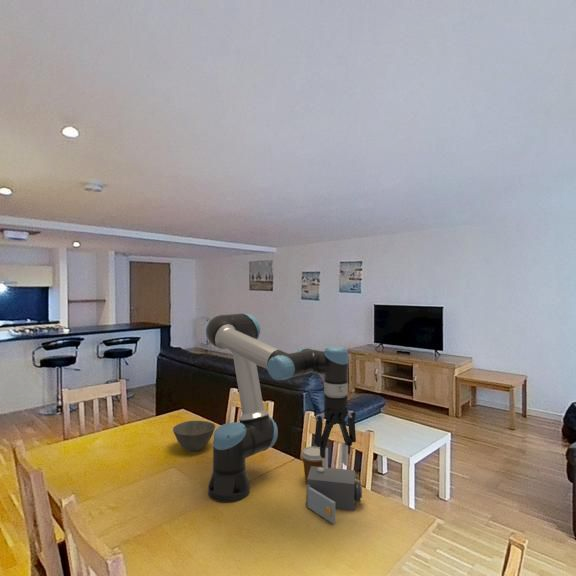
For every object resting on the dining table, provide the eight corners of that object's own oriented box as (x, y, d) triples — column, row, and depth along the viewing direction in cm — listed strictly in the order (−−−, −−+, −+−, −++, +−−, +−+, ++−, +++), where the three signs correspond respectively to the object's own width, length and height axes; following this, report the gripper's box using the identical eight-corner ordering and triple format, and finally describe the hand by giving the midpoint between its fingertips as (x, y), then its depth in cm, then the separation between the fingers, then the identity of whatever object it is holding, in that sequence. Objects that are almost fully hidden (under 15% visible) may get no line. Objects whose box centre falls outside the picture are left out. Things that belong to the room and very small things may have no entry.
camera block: (306, 505, 136) (307, 476, 136) (310, 490, 146) (311, 463, 146) (361, 511, 133) (362, 481, 133) (361, 496, 143) (362, 468, 143)
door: (304, 506, 135) (304, 485, 135) (308, 505, 136) (308, 484, 136) (331, 525, 125) (331, 502, 125) (335, 523, 126) (335, 500, 126)
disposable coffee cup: (324, 489, 147) (325, 457, 147) (299, 487, 149) (299, 455, 148) (327, 477, 156) (327, 447, 156) (303, 475, 158) (303, 444, 158)
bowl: (223, 446, 185) (223, 424, 185) (193, 461, 169) (193, 438, 169) (194, 437, 195) (194, 417, 195) (163, 451, 179) (164, 428, 179)
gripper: (312, 400, 122) (311, 475, 123) (368, 395, 129) (367, 466, 129) (303, 394, 130) (303, 464, 130) (356, 389, 136) (355, 456, 136)
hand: (335, 465), depth 129 cm, fingers open, 6 cm apart
